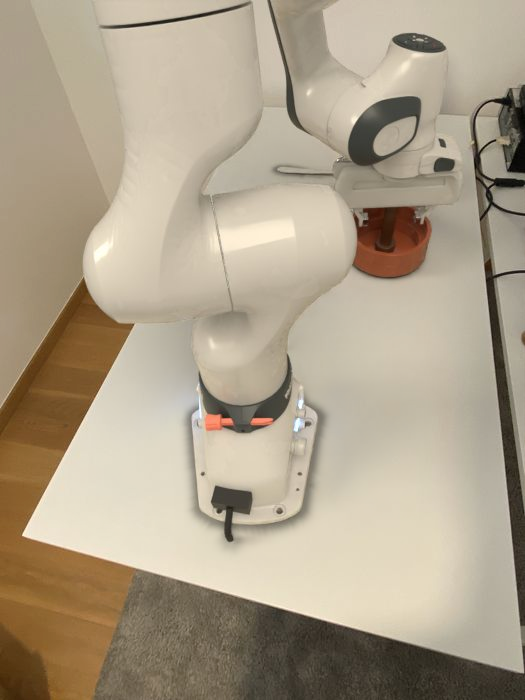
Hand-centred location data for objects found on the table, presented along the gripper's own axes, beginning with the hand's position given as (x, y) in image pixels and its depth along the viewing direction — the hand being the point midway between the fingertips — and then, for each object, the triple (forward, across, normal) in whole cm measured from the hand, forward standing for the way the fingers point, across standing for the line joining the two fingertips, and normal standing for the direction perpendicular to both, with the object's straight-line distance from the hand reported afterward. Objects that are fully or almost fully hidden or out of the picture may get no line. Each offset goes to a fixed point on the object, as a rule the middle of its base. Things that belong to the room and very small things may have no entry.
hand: (390, 223), depth 88 cm
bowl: (+7, 0, 0) cm, 7 cm away
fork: (+7, -9, +24) cm, 27 cm away
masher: (+6, 0, 0) cm, 6 cm away
